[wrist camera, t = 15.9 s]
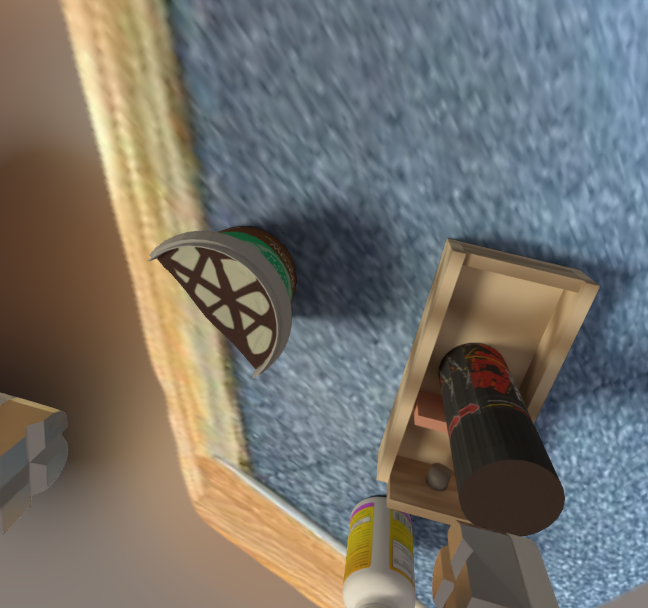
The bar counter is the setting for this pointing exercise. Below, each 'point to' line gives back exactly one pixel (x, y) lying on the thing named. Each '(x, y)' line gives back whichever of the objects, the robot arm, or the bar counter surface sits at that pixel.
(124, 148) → the bar counter surface
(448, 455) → the tray
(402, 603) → the supplement bottle
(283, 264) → the food container
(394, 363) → the bar counter surface
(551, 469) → the deodorant
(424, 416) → the plate
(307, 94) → the bar counter surface
